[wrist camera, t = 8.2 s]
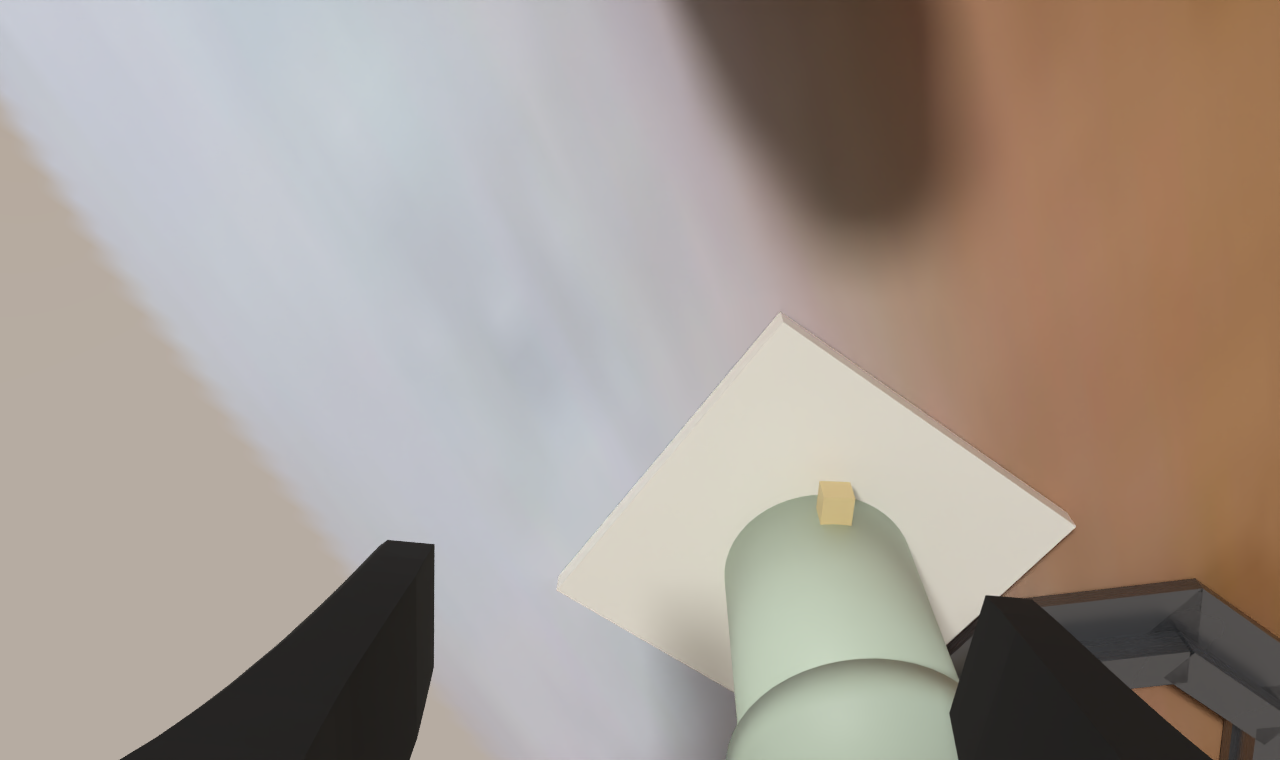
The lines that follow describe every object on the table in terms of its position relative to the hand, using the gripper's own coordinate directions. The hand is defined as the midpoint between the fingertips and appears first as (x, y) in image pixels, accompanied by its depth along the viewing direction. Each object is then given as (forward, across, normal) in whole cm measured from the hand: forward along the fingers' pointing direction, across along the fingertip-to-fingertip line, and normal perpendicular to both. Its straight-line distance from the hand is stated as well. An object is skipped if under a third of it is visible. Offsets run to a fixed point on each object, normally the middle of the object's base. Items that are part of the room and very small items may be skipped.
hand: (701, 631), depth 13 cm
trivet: (+10, -4, +6) cm, 12 cm away
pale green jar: (+10, -4, +6) cm, 12 cm away
